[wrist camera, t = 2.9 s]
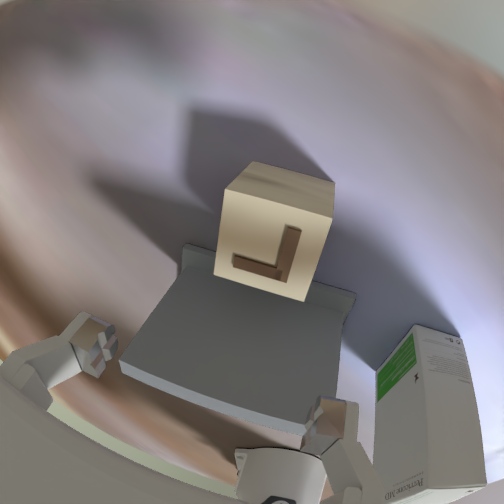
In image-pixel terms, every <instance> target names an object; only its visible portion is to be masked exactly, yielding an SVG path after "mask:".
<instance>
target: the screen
mask: <svg viewBox="0 0 504 504" xmlns="http://www.w3.org/2000/svg"><path fill="white" fill-rule="evenodd" d="M215 259H216V252H214V251H211V250H207V249H204V248H201V247H197V246H194V245H191V244H187V243H186V244H185V245H184V246H183V248H182V264H181V274H180V275H179V276H178V278H177V279H176V280H175V282H174V283H173V284H172V286H171V287H170V288H169V290H168V291H167V292H166V294H165V295H164V297H163V298H162V299H161V301H160V302H159V303H158V305H157V306H156V308H155V309H154V310H153V312H152V313H151V314H150V316H149V317H148V319H147V320H146V321H145V323H144V324H143V326H142V327H141V328H140V330H139V331H138V333H137V334H136V335H135V337H134V338H133V340H132V341H131V342H130V344H129V345H128V347H127V348H126V350H125V351H124V352H123V354H122V355H121V357H120V358H119V363H120V367H121V371H122V373H124V374H126V375H128V376H130V377H132V378H134V379H136V380H139V381H141V382H143V383H145V384H148V385H150V386H152V387H155V388H157V389H159V390H162V391H164V392H166V393H169V394H171V395H174V396H176V397H179V398H181V399H184V400H187V401H189V402H192V403H195V404H197V405H200V406H203V407H206V408H208V409H211V410H214V411H217V412H220V413H223V414H226V415H229V416H232V417H235V418H238V419H242V420H245V421H248V422H252V423H255V424H258V425H262V426H266V427H269V428H273V429H277V430H280V431H284V432H288V433H292V434H297V435H301V436H303V435H304V434H305V433H306V431H307V430H306V428H305V421H306V418H307V414H308V412H309V409H310V408H311V406H312V405H313V404H315V403H316V399H317V397H318V396H319V395H323V396H328V397H333V398H336V390H337V381H338V371H339V361H340V349H341V336H342V326H343V324H344V322H345V320H346V318H347V316H348V314H349V312H350V310H351V308H352V306H353V304H354V302H355V300H356V293H353V292H349V291H346V290H342V289H339V288H336V287H332V286H329V285H325V284H322V283H318V282H315V281H311V284H310V286H309V289H308V292H307V295H306V297H305V300H304V302H302V301H299V300H295V299H292V298H289V297H285V296H282V295H278V294H275V293H272V292H268V291H265V290H262V289H258V288H255V287H252V286H249V285H245V284H242V283H239V282H236V281H232V280H229V279H226V278H223V277H219V276H216V275H214V267H215Z"/></svg>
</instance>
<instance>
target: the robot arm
mask: <svg viewBox="0 0 504 504" xmlns="http://www.w3.org/2000/svg"><path fill="white" fill-rule="evenodd" d="M114 332H115V328H114V325H111V324H109V323H107V322H105V321H103V320H101V319H98V318H96V317H94V316H93V315H90V314H88V313H86V312H84V311H82V312H80V313H79V314H78V315H77V316H76V317H75V318H74V319H73V321H72V322H71V323H70V324H69V325H68V326H67V327H66V329H65V330H64V331H63V332H62V333H61V334H60V335H59V336H57V335H55V336H53V337H50V338H47V339H45V340H42V341H39V342H37V343H34V344H31V345H28V346H26V347H23V348H20V349H18V350H15V351H12V353H11V354H10V355H9V356H8V357H7V358H6V360H5V361H4V362H3V363H2V364H1V366H0V504H319V502H320V499H321V495H322V492H323V488H324V484H325V480H326V479H329V482H330V485H331V487H332V490H333V493H334V495H332V496H330V497H328V498H326V499H324V500H322V501H321V502H320V504H384V496H385V488H384V486H383V484H382V482H381V480H380V479H379V477H378V475H377V473H376V471H375V469H374V467H373V465H372V464H371V462H370V460H369V458H368V456H367V454H366V452H365V450H364V449H363V447H362V445H361V443H360V442H357V432H358V418H359V404H358V403H356V402H351V401H346V400H343V399H338V398H333V397H328V396H323V395H319V396H318V397H317V399H316V403H315V404H313V405H312V406H311V408H310V409H309V412H308V414H307V418H306V421H305V428H306V430H307V431H306V433H305V434H304V435H303V436H302V442H301V447H300V451H301V452H305V453H310V454H314V455H319V456H320V458H321V460H320V459H318V458H316V457H314V456H311V455H308V454H305V453H301V452H297V451H292V450H287V449H279V448H258V449H235V453H234V455H235V460H236V465H237V470H238V473H237V476H238V480H237V483H236V486H235V490H234V491H235V492H236V495H237V496H238V498H239V500H238V499H234V498H230V497H227V496H223V495H220V494H217V493H214V492H211V491H207V490H205V489H202V488H199V487H196V486H193V485H190V484H187V483H184V482H181V481H179V480H177V479H174V478H171V477H169V476H166V475H163V474H161V473H159V472H157V471H154V470H152V469H150V468H147V467H145V466H143V465H141V464H138V463H136V462H134V461H132V460H130V459H128V458H126V457H124V456H122V455H120V454H118V453H116V452H114V451H112V450H110V449H108V448H106V447H104V446H102V445H101V444H99V443H97V442H95V441H93V440H92V439H90V438H88V437H86V436H85V435H83V434H81V433H80V432H78V431H76V430H75V429H73V428H71V427H70V426H68V425H67V424H65V423H63V422H62V421H60V420H59V419H57V418H56V417H54V416H53V415H51V414H50V413H48V412H47V409H48V408H49V406H50V405H51V403H52V402H53V398H52V396H51V395H50V393H49V392H48V390H47V389H49V388H51V387H53V386H55V385H57V384H59V383H61V382H63V381H64V380H66V379H68V378H70V377H72V376H74V375H76V374H77V373H79V372H81V371H82V370H83V371H84V372H86V373H88V374H90V375H92V376H94V377H96V378H99V376H100V375H101V373H102V372H103V370H104V369H105V368H106V361H108V360H110V359H112V357H113V356H114V354H115V352H116V350H117V346H118V341H117V338H116V336H115V335H114Z"/></svg>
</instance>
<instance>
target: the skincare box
mask: <svg viewBox="0 0 504 504" xmlns="http://www.w3.org/2000/svg"><path fill="white" fill-rule="evenodd" d="M373 467H374V469H375V471H376V473H377V475H378V477H379V479H380V480H381V482H382V484H383V486H384V488H385V496H384V504H447V503H450V502H453V501H455V500H458V499H459V498H462V497H464V496H466V495H469V494H471V493H473V492H475V491H477V490H480V489H482V488H484V487H486V485H487V480H486V473H485V462H484V452H483V443H482V434H481V427H480V420H479V414H478V408H477V403H476V397H475V392H474V387H473V382H472V378H471V373H470V369H469V365H468V360H467V356H466V352H465V348H464V344H463V341H462V339H461V338H458V337H455V336H452V335H449V334H446V333H443V332H440V331H436V330H433V329H430V328H426V327H423V326H420V325H413V327H412V328H411V329H410V330H409V332H408V333H407V335H406V336H405V337H404V338H403V339H402V341H401V342H400V343H399V344H398V346H397V347H396V348H395V349H394V351H393V352H392V353H391V354H390V356H389V357H388V358H387V359H386V360H385V362H384V363H383V364H382V365H381V366H380V367H379V368H378V369H377V371H376V401H375V435H374V454H373Z"/></svg>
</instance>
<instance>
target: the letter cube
mask: <svg viewBox="0 0 504 504" xmlns="http://www.w3.org/2000/svg"><path fill="white" fill-rule="evenodd" d="M334 195H335V183H333V182H330V181H326V180H323V179H319V178H316V177H312V176H309V175H305V174H302V173H298V172H294V171H290V170H287V169H283V168H279V167H275V166H271V165H267V164H263V163H259V162H255V161H252V162H251V163H250V164H249V165H248V166H247V167H246V168H245V169H244V170H243V171H242V172H241V173H240V174H239V175H238V176H237V177H236V178H235V179H234V180H233V181H232V182H231V183H230V184H229V185H228V186H227V187H226V188H225V192H224V199H223V207H222V214H221V221H220V229H219V236H218V244H217V252H216V259H215V267H214V275H216V276H219V277H223V278H226V279H229V280H232V281H236V282H239V283H242V284H245V285H249V286H252V287H255V288H258V289H262V290H265V291H268V292H272V293H275V294H278V295H282V296H285V297H289V298H292V299H295V300H299V301H302V302H304V300H305V297H306V295H307V292H308V289H309V286H310V284H311V281H312V278H313V275H314V273H315V270H316V267H317V264H318V261H319V258H320V255H321V252H322V250H323V247H324V244H325V241H326V238H327V235H328V232H329V229H330V226H331V223H332V220H333V209H334Z"/></svg>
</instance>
